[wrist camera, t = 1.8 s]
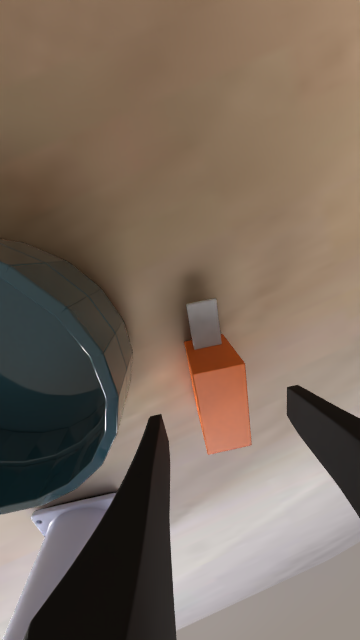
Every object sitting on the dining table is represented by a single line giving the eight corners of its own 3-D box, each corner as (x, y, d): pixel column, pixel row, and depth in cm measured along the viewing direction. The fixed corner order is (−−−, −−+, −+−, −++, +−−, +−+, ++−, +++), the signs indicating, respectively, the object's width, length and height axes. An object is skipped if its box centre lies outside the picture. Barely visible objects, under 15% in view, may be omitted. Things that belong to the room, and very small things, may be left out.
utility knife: (230, 399, 16) (252, 445, 12) (196, 407, 16) (207, 455, 12) (217, 292, 13) (240, 308, 9) (176, 300, 13) (182, 320, 9)
